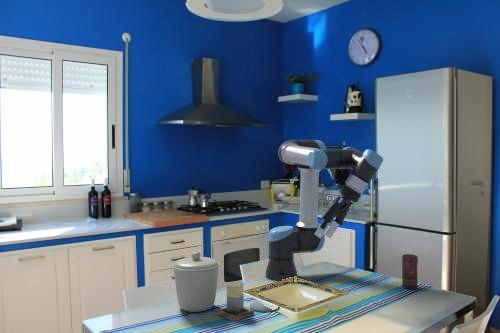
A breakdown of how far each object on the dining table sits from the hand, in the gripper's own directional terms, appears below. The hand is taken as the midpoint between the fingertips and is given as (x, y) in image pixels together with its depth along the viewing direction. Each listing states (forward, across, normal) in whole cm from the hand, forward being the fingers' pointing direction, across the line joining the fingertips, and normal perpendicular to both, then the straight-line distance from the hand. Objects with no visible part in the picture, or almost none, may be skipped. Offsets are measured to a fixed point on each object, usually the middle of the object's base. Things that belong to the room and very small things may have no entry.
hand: (322, 236), depth 165 cm
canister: (+48, -16, +22) cm, 54 cm away
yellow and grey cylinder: (+39, -16, +7) cm, 43 cm away
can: (+3, +42, -34) cm, 54 cm away
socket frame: (+39, -16, +7) cm, 43 cm away
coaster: (+34, -5, +3) cm, 34 cm away
